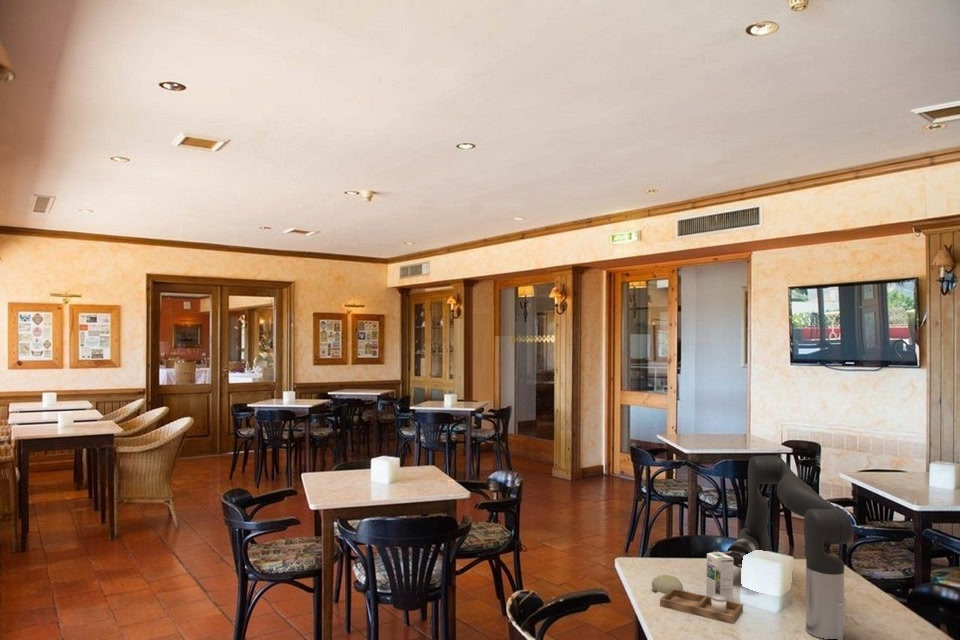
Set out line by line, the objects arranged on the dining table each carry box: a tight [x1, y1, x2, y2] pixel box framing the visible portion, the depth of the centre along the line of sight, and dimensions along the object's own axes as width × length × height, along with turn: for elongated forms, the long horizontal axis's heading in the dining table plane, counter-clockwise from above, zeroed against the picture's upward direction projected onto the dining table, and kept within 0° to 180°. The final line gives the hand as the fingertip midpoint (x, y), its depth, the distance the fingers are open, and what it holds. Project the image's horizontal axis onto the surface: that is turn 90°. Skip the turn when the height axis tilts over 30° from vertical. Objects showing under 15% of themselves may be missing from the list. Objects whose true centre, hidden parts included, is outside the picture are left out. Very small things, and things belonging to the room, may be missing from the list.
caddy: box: [659, 588, 744, 625], centre depth 195 cm, size 21×11×3 cm, turn 55°
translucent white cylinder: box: [711, 594, 727, 614], centre depth 192 cm, size 4×4×4 cm
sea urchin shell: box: [651, 574, 684, 594], centre depth 211 cm, size 9×8×8 cm
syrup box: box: [705, 551, 734, 602], centre depth 202 cm, size 6×6×14 cm
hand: (729, 565), depth 212 cm, fingers open, 8 cm apart
